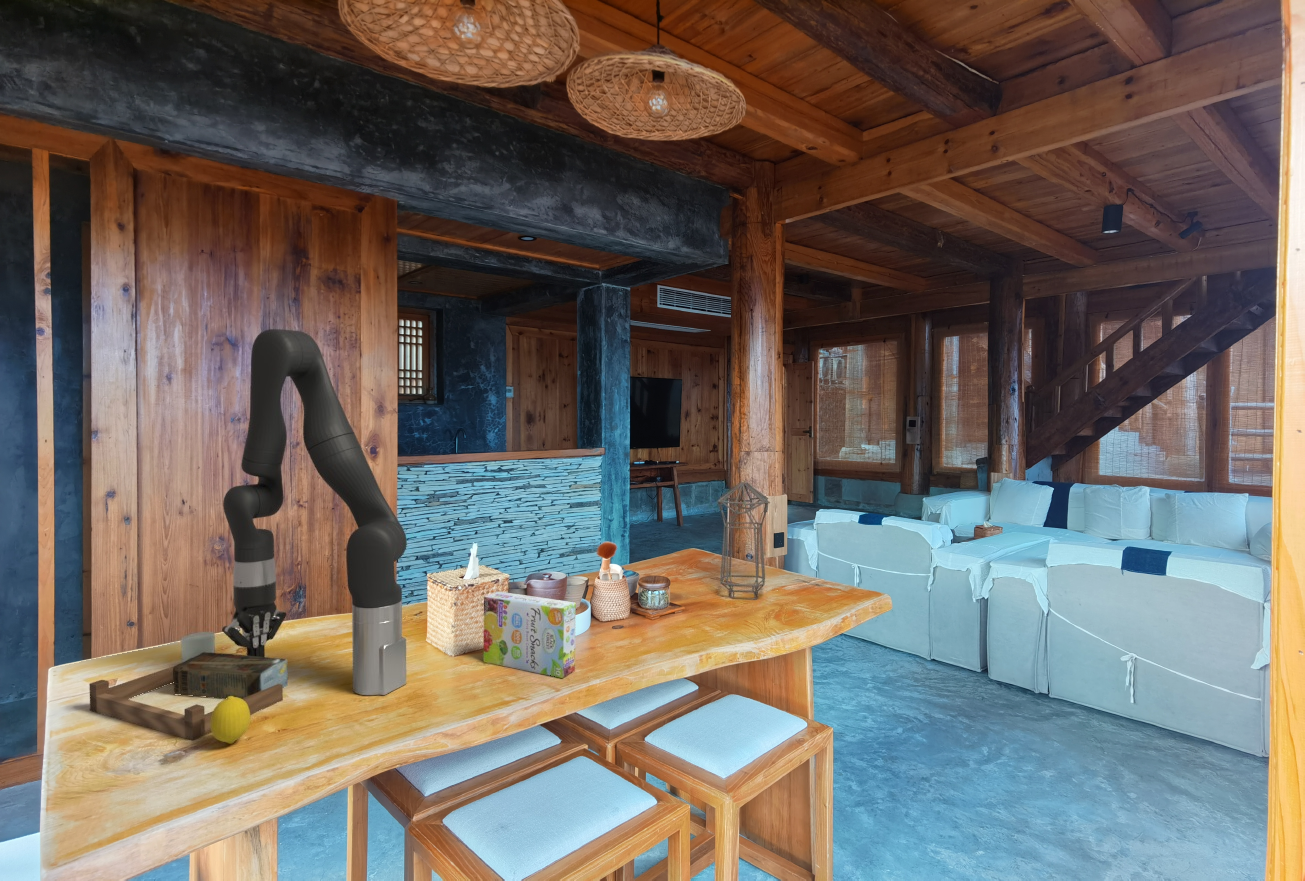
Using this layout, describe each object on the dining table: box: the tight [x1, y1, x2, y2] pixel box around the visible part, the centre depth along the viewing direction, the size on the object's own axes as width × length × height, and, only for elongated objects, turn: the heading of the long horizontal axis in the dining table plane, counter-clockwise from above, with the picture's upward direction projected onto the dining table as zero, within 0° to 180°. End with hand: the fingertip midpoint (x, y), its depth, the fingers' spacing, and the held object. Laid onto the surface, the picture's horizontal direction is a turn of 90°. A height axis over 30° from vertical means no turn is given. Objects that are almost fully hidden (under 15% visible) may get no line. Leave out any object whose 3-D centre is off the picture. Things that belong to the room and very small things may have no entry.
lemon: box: [211, 696, 251, 745], centre depth 109 cm, size 6×6×8 cm
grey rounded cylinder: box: [180, 631, 216, 663], centre depth 143 cm, size 6×6×6 cm
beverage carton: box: [172, 652, 289, 699], centre depth 129 cm, size 8×19×7 cm, turn 83°
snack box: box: [482, 591, 577, 679], centre depth 143 cm, size 21×6×15 cm, turn 65°
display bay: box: [88, 665, 284, 741], centre depth 123 cm, size 28×17×5 cm, turn 68°
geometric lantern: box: [717, 481, 771, 601], centre depth 201 cm, size 16×16×35 cm
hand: (256, 663), depth 135 cm, fingers closed
